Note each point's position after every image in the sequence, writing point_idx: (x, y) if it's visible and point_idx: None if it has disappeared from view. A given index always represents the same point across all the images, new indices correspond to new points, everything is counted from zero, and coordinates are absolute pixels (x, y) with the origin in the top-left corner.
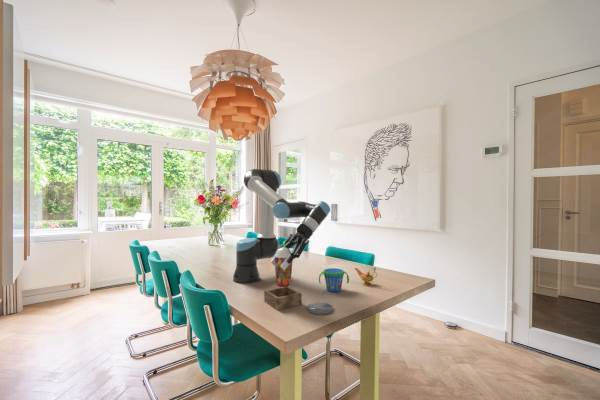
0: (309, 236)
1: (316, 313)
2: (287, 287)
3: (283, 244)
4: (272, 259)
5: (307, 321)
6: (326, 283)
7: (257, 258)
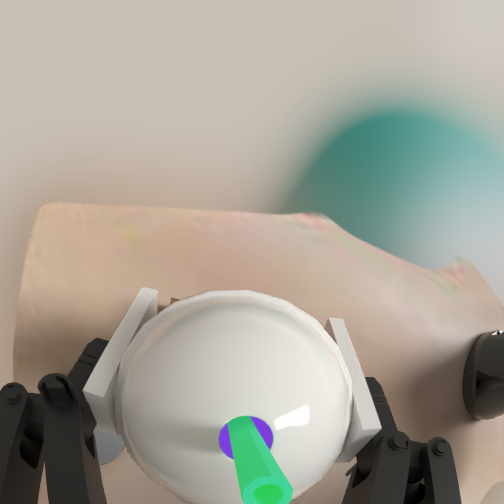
0: None
1: None
2: None
3: (252, 446)
4: (344, 336)
5: (51, 316)
6: None
7: None
